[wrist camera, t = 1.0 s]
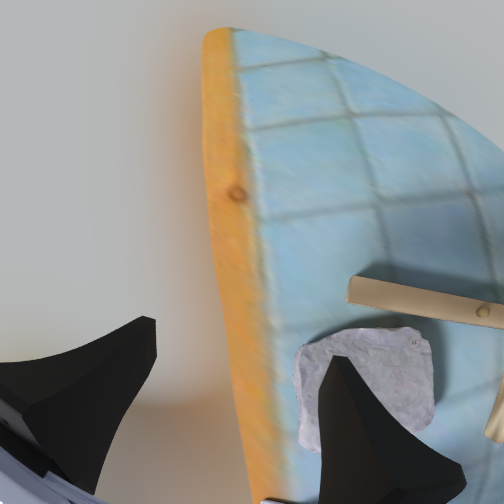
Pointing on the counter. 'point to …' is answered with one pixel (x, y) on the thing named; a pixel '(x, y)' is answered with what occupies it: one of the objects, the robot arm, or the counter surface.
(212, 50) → the counter surface
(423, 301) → the fence
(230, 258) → the counter surface
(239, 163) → the counter surface
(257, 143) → the counter surface
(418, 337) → the stone block
